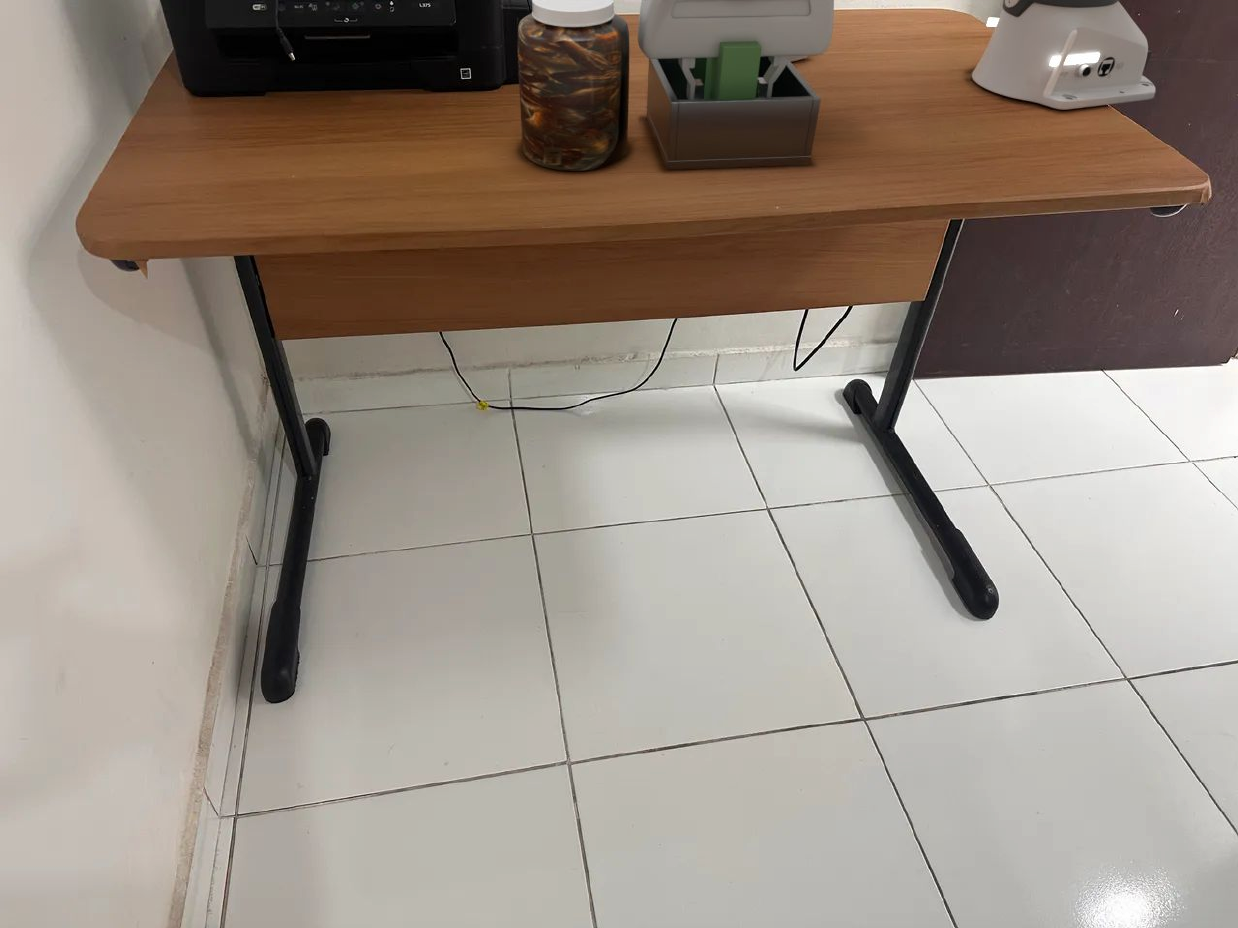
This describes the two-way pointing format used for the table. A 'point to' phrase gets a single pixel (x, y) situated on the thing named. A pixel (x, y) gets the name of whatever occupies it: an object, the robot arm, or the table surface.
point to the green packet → (733, 71)
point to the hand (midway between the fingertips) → (728, 98)
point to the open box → (730, 120)
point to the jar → (574, 84)
